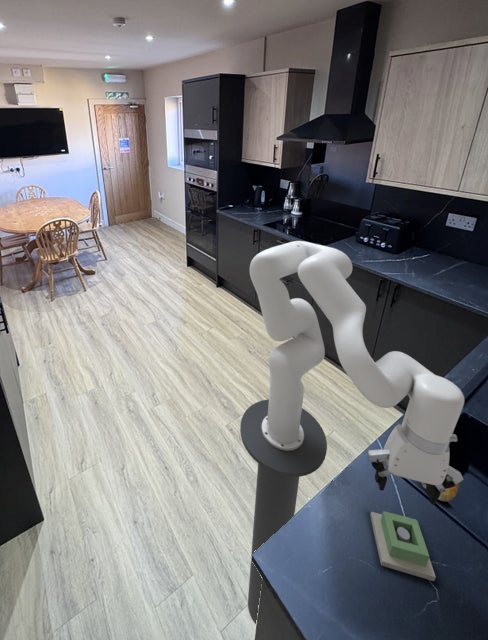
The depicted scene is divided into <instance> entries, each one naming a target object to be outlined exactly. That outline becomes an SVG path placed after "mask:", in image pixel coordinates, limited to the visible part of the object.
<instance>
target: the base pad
mask: <svg viewBox="0 0 488 640" xmlns="http://www.w3.org/2000/svg"><path fill="white" fill-rule="evenodd" d="M369 517H370V521H371V527H372V530H373V535H374V540H375V544H376V548H377V553H378V557H379V561H380V565H381V566H382V567H385V568H389V569H392V570H394V571H395V570H396V571H398V572H401V573H406V574H409V575H412V576H415V577H419V578H421V579H425V580H428V581H430V582H431V581H432V582H435V581H436V578H437V576H436V574H435V571H434V568H433V564H432V562H431V558H430V557H429V560H428V562H427V565H426V567H425V566H422V565H418V564H415V563H412V562H408V561H405V560H402V559H398V558H395V557H391V556H389V553H388V549H387V545H386V541H385V537H384V533H383V529H382V525H381V517H382V513H378V512H376V511H375V512H374V511H370V515H369ZM395 532H396V531H395ZM396 536H397V539H398V540H399V541H402V542H406V543H409V544H412V543H411V540H410V535H409V533H408V531H407V530H406V529H405V528H403V527H398V529H397V532H396Z"/></svg>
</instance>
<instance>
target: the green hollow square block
mask: <svg viewBox="0 0 488 640" xmlns="http://www.w3.org/2000/svg"><path fill="white" fill-rule="evenodd" d="M381 514H382V517H381V525H382V529H383V533H384V537H385V541H386V545H387V549H388V553H389V556H391V557H395V558H398V559H402V560H405V561H408V562H412V563H415V564H418V565H422V566H425V567H426V565H427V562H428V560H429V558H430V557H431V556H430V554H429V551H428V548H427V545H426V542H425V539H424V536H423V533H422V530H421V527H420V524H419V520H418V519H415V518H412V517H407V516H403V515H400V514H397V513H393V512H390V511H385V510H383V511H382V513H381ZM398 527H403V528H405V529H406V530H407V531H408V533H409V535H410V540H411V543H412V544H409V543H406V542H402V541H399V540H398V539H397V536H396V532H397V529H398ZM395 531H396V532H395Z"/></svg>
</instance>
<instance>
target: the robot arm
mask: <svg viewBox="0 0 488 640" xmlns="http://www.w3.org/2000/svg"><path fill="white" fill-rule="evenodd" d="M352 272H353V263H352V260H351V259H350V257H349V256H348V255H347V254H346V253H345V252H343V251H342V250H339V249H337V248H335V247H330V246H327V245H322V244H318V243H314V242H309V241H305V240H294V241H289V242H287V243H282V244H278V245H275V246H272V247H269V248H267V249H264V250H261V251H260V252H259V253H257V254H256V255H255V256H254V257H253V258H252V259H251V261H250V264H249V276H250V279H251V282H252V285H253V287H254V290H255V292H256V295H257V299H258V302H259V307H260V311H261V314H262V318H263V323H264V326H265V330H266V333H267V335H268V336H269V338H270V339H271V340H272V341H274V342H280V343H281V342H283V343H282V344H279V345H278V346H276V347H275V348H274V349H273V350H272V351H271V352H270V354H269V356H268V367H269V375H270V376H269V377H270V379H269V392H268V399H269V405H268V416H266V417H265V418H264V420H263V422H262V433H263V436H264V438H265V439H266V440H267V441H268V442H269V443H270V444H271V445H272V446H274V447H275V448H278V449H280V450H285V451H291V450H295V449H297V448H299V447H300V446H301V445H302V443H303V440H304V432H303V429H302V427H301V425H300V419H301V411H302V408H303V403H304V402H303V401H304V394H305V388H304V384H303V382H302V378H303V376H305V375H306V374H307V373H308V372H310V371H311V370H312V369H314V368H315V367H317V366H319V365H320V364H321V363H322V362H323V360H324V359H325V355H326V349H325V344H324V339H323V336H322V332H321V328H320V324H319V320H318V316H317V313H316V310H315V309H314V308H313V306H312V304H310V303H309V302H308V301H307V300H305V299H303V298H301V297H300V298H299V297H295V298H290V294H289V290H288V288H287V287H286V285H285V284H284V282H283V281H282V280H281V279H282V278H284V277H287V276H290V275H293V274H296V273H297V276H298V279H299V280H300V282H301V284H302V285H303V286H304V288H305V289H306V290H307V292H308V293H309V295H310V296H311V297H312V299H313V300H314V302H315V303H316V305H317V306H318V308H320V310H321V311H322V313H323V314H324V316H325V317H326V318H327V319H328V321H329V322H330V324H331V326H332V332H333V333H332V334H333V341H334V346H335V351H336V354H337V357H338V361H339V363H340V365H341V367H342V368H343V370H344V372H345V373H346V375H347V376H348V378H349V379H350V380H351V382H352V384H353V385H354V386H355V387H356V389H357V390H358V392H360V394H361V395H362V396H363V397H364V398H365V399H366V400H367V401H369V402H370V403H371V404H373V405H375V407H379V408H383V409H390V408H393V407H395V406H396V405H398V404H399V403H400V402H401V401H402V400H404V398H405V397H406V396H408V398H409V399H408V400H409V401H408V404H407V407H406V410H405V414H404V417H403V419H402V423H398V424H397V425H396V426H395V427H393V429H392V430H391V432H390V434H389V436H388V438H387V440H386V442H385V444H384V446H383V448H381V449H380V448H379V449H368V450H367V451H366V453H367V456H368V457H367V458H368V459H369V462H370V464H371V466H372V468H373V469H374V470H375V474H374V481H375V483H377V485H378V488H379V491H382V492H383V491H385V488H386V485H387V482H388V477H387V476H390V475H395V476H396V477H400V478H404V479H408V480H412V481H416V482H420V483H421V482H423V483H427V486H426V489H425V492H426V495H427V498H428V501H429V503H430V504H431V505H434V506H435V505H436V504H437V501H438V499H439V497H440V494H441V492H446V490H445V489H447V488H451V487H455V484H457V483H459V484H460V483H461V482H463V481H464V477H463V475H462V473H461V472H460V471H459V470H457V469H455V468H454V467H452V466H450V451H451V450H450V443H453V442H455V443H457V442H458V436H457V435H456V434H455V433H454V431H455V428H456V426H457V423H458V421H459V419H460V415H461V413H462V411H463V408H464V405H465V395H464V393H463V392H462V390H461V389H460V387H458V386H457V385H456V384H455V383H453V382H452V381H450V380H449V379H447V378H445V377H443V376H440V375H436V374H435V373H433V372H432V371H431V370H429V369H427V367H425V366H424V365H423V364H421V363H420V362H419V361H417V360H416V359H415V358H412V357H411V356H410V355H408V354H406V353H405V352H402V351H398V350H392V351H389V352H387V353H386V354H383V356H381V357H380V358H378V360H376V361H374V358H373V357H372V356H371V355H370V353H369V351H368V349H367V346H366V344H365V341H364V334H363V333H364V332H363V331H364V330H363V329H364V322H365V318H366V313H367V306H366V304H365V302H364V301H363V299H361V298H360V297H359V295H358V294H357V293H356V291H355V290H354V289H353V287H352V286H351V285H350V284H349V282H348V281H347V279H348V278H349V277H350V276H351V275H352ZM385 466H387V467H386V468H385ZM446 474H448V475H446Z"/></svg>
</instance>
